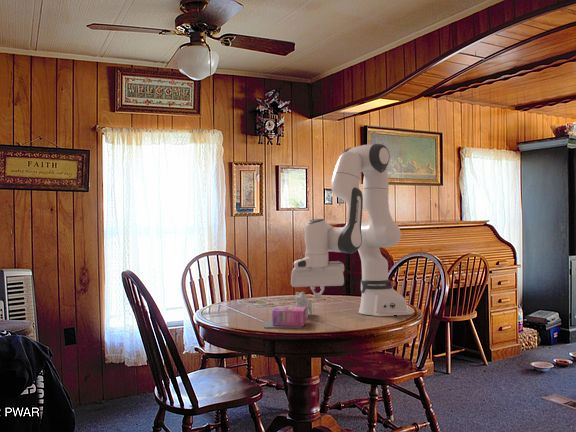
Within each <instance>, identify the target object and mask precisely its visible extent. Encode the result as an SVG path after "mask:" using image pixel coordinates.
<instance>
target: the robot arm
mask: <svg viewBox="0 0 576 432" xmlns="http://www.w3.org/2000/svg"><path fill="white" fill-rule="evenodd" d="M390 155H391V154H390V151H389V149H388V148H387V146H386V145H385V144H383V143H374V144H369V143H368V144H362V145H358V146H355V147H348V148H346V149H344V150H343V151H342V153H341V154H340V155H339V157H338V160H337V161H336V164H335V167H334V170H333V173H332V176H331V181H330V189H331V192H332V193H333V195H334V196H336V198H338V199H340V200H342V201H344V202H346V204H347V215H346V224H345V225H344V226H342V227H341V226H339V227H338V226H337V227H336V226H333V225H330V224H329V223H328V222H327V221H326V219H324V218H315V219H311V220H308V221H306V224H305V226H304V245H305V252H304V257H303V258H299V259H297V260H294V262H293V269H292V270H291V274H290V285H291V287H292V288H304V287H305V288H308V287H310V290H311V292H312V294H313V299H322V298H323V297H322V296H323V295H322V294H323V293H324V291H325V287H333V286H334V287H337V286H338V287H341V286H344V284H345V278H344V277H345V276H344V272H345V265H344V263H343V262H341V261H340V260H337V261H336V260H335V261H333V260H330V261H329V252H332V253H333V252H334V253H345V254H348V255H349V254H350V255H351V254H355V253H356V252H357V251H358V254H359V257H360V261H361V280H360V292H361V298H360V305H359V309H358V313H359V314H361V315H367V316H368V315H369V316H375V317H393V316H394V315H397V316H411V315H413V313H414V312H413V310H412V309H410V308H408V305H407V303H408V302H407V299H406V298H405V297H404V296H403V295H401V294H400V293H399V292H398V291H396V290H395V289H394V288H393V287H395V286H396V281H394V280H390V279H389V261H388V260H387V258H385V256H383V255H382V253H381V249H380V248H385V249H386V248H391V247H393V246H396V245H397V244H399V242H400V241H401V237H402V233H401V229H400V227H399V225H397V223H396V222H395V221H394V219H393V217H392V216H391V212H390V206H389V186H390V185H389V175H388V170H387V167H388V165H389V162H390ZM362 174H363V180H362V190H360V180H361V175H362ZM363 210H364V211H365V212H367V215H368V217H369V221H363V220H362V219H363ZM316 287H319V288H320V291H319V292H316V291H315V289H316ZM394 317H395V316H394Z"/></svg>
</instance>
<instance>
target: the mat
mask: <svg viewBox="0 0 576 432" xmlns="http://www.w3.org/2000/svg"><path fill="white" fill-rule="evenodd" d="M298 328H299V329H301V328H303V326H282V325H273V323H272V320H265V321H264V329H298Z"/></svg>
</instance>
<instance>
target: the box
mask: <svg viewBox="0 0 576 432" xmlns="http://www.w3.org/2000/svg"><path fill="white" fill-rule="evenodd" d="M271 311H272V314H271V315H272V318H271V319H272V320H271V321H272V323H273V325H282V326H302V327H304V325H305V324H306V322H307V321H308V318H307V307H296V306H280V305H279V306H276V307H275V308H274V309H273V310H271Z"/></svg>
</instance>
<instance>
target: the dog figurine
mask: <svg viewBox="0 0 576 432" xmlns="http://www.w3.org/2000/svg"><path fill="white" fill-rule="evenodd" d="M294 301H295V307H307V319H308V318H309V316H312V315H313V303H312V300H311V299H310V298H308V296H306V294H305V291H301V292H299V291H297V292H295V300H294ZM308 315H309V316H308Z"/></svg>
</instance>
